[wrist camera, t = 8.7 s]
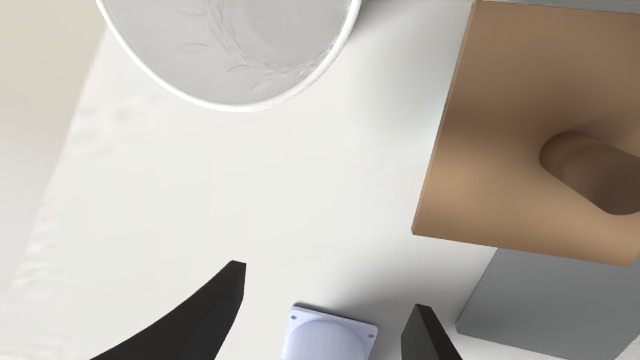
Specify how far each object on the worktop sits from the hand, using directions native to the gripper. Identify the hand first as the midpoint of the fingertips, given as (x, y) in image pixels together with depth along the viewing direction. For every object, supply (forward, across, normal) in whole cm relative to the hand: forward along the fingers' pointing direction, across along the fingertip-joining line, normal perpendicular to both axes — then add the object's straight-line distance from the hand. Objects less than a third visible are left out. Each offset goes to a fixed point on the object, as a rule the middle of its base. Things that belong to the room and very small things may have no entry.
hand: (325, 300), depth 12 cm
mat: (+10, -18, +4) cm, 21 cm away
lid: (+7, -10, -7) cm, 14 cm away
